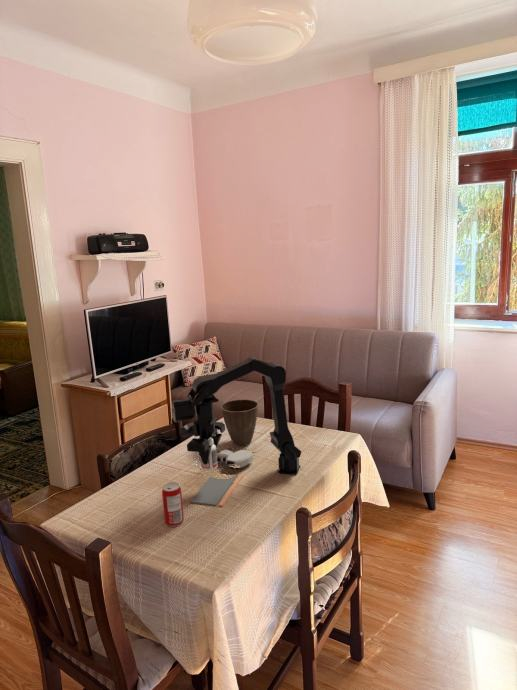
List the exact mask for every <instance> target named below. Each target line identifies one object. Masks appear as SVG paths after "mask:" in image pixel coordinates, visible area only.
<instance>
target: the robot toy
mask: <svg viewBox="0 0 517 690" xmlns="http://www.w3.org/2000/svg"><path fill="white" fill-rule="evenodd" d="M256 453H258V452H257V451H250V450H245V449H241V450H237V451H233V450H232V448H226V449H224V450H223V449H222V450H219V451H218V452H217V463H221V462H223V463H222V464H225V465H226V467H228V466H235V465H237V466H239V465H240V468H239V469H241V468H244V467H245V466H248V464H250V463H251V462H252V461H253V460H254V455H253V454H256Z"/></svg>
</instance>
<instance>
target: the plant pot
mask: <svg viewBox="0 0 517 690" xmlns="http://www.w3.org/2000/svg"><path fill="white" fill-rule="evenodd" d="M220 409H221V414H222V418H223V421H224V422H223V423H224V424H225V429H226V431H227V433H228V436H229V437H230V439H231V441H232V444H233V445H234V446H237V447H239V446H240V447H241V446H242V447H244V446H247V445H250V444H251V442H252V440H253V438H254V434H255V431H256V430H255V429H256V424H257V421H258V420H257V418H258V411H259V410H258V409H259V403H258V402H257V401H255V400H252V399H235V400H230V401H226V402H224V403H222V404H221V406H220Z"/></svg>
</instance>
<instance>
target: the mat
mask: <svg viewBox="0 0 517 690" xmlns="http://www.w3.org/2000/svg"><path fill="white" fill-rule="evenodd" d="M235 475H236V476H233V477H232V478H229V479H217V478H213V477H208V479H207V480H206V482H204V484H203V485H202V486H201V487H200V489H198V491H197V492H196V493H195V494H194V496H193V497H191V498H192V499H191V500H190V501H189V503H190V504H196V505H197V504H198V505H206V506H213V507H217V505H219V504H220V502H221V501H222V499H223V498H224V497H225V495H226V494H227V492H228V491H229V489H230V488H231V487H232V485H233V484H234V482H235V481H236V479H237V478H238V474H235ZM236 477H237V478H236ZM235 478H236V479H235ZM233 481H234V482H233Z"/></svg>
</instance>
